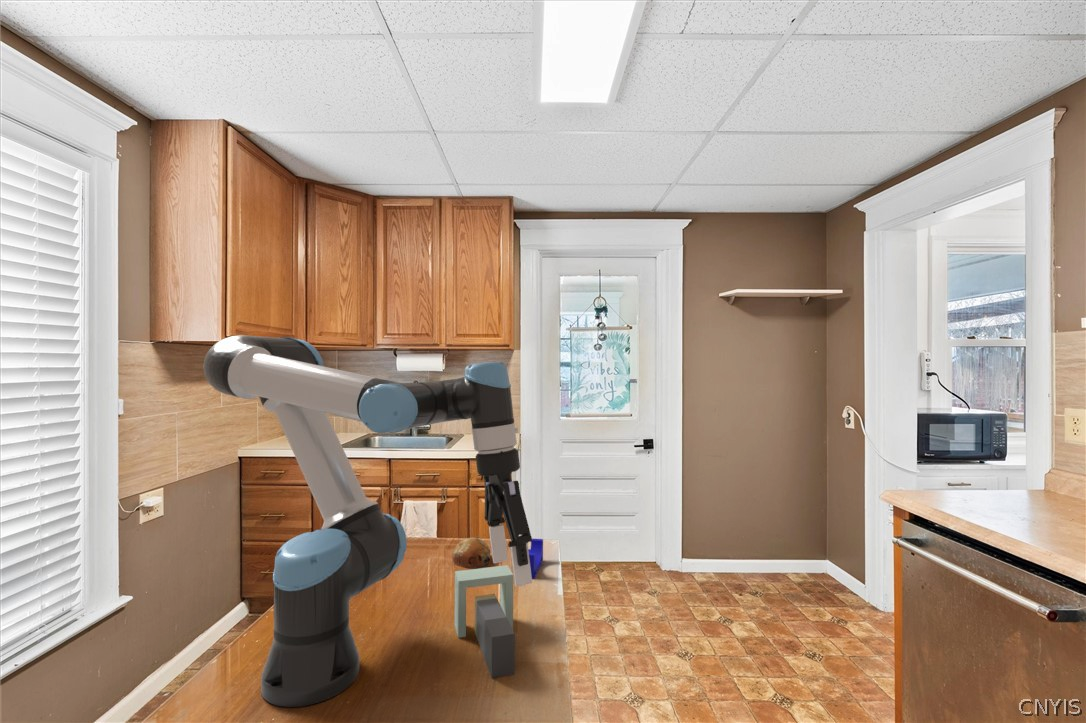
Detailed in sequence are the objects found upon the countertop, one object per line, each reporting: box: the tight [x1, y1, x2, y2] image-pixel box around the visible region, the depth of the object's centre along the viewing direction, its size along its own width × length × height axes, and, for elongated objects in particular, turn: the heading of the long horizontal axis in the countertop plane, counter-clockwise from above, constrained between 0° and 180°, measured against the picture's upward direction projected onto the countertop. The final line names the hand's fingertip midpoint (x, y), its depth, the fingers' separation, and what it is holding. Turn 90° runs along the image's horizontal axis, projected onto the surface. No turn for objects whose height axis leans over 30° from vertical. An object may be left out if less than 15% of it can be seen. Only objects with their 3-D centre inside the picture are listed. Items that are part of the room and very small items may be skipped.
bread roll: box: [452, 536, 492, 569], centre depth 139 cm, size 10×10×8 cm
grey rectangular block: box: [474, 593, 516, 679], centre depth 96 cm, size 4×16×7 cm, turn 18°
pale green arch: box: [453, 564, 514, 639], centre depth 104 cm, size 11×5×11 cm, turn 108°
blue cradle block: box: [528, 537, 544, 580], centre depth 134 cm, size 12×4×6 cm, turn 169°
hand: (511, 572), depth 90 cm, fingers open, 13 cm apart
